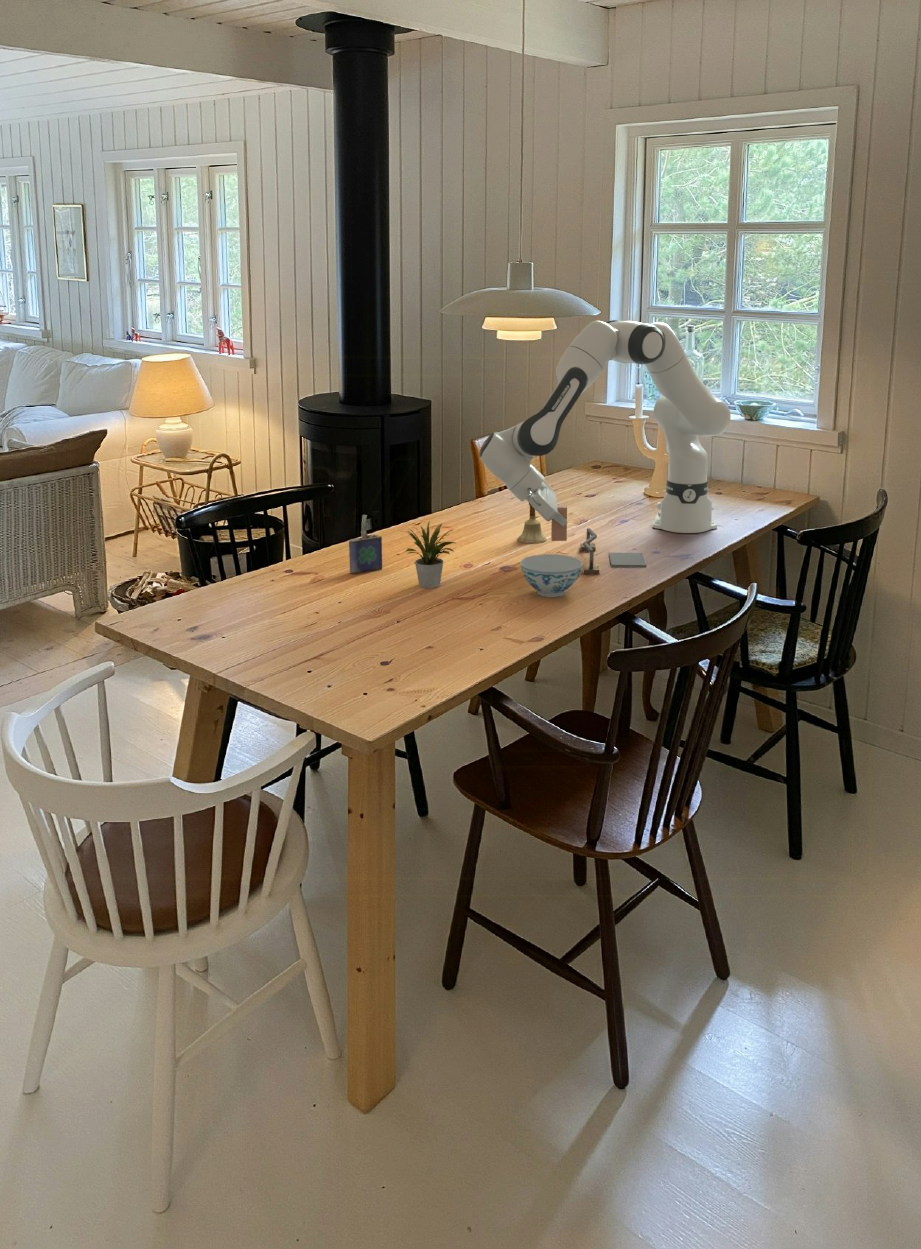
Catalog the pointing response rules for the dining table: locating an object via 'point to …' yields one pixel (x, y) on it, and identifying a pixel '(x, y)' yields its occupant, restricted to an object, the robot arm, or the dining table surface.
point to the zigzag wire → (591, 548)
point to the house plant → (429, 557)
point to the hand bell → (532, 530)
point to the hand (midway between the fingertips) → (565, 521)
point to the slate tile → (627, 559)
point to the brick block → (559, 525)
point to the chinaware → (551, 573)
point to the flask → (365, 553)
